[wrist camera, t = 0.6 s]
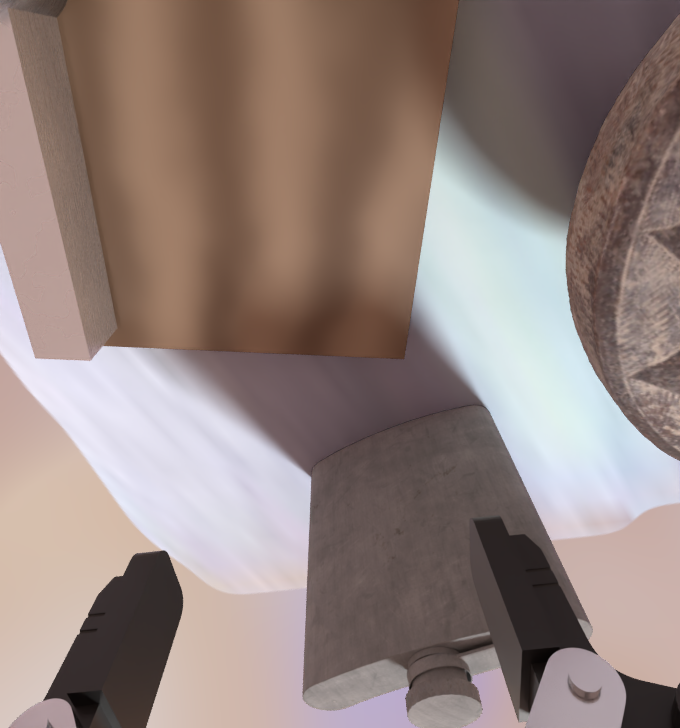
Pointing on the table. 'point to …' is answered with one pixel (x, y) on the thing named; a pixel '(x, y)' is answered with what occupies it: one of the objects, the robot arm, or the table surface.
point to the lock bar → (48, 191)
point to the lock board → (260, 166)
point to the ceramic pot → (634, 248)
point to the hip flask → (410, 565)
